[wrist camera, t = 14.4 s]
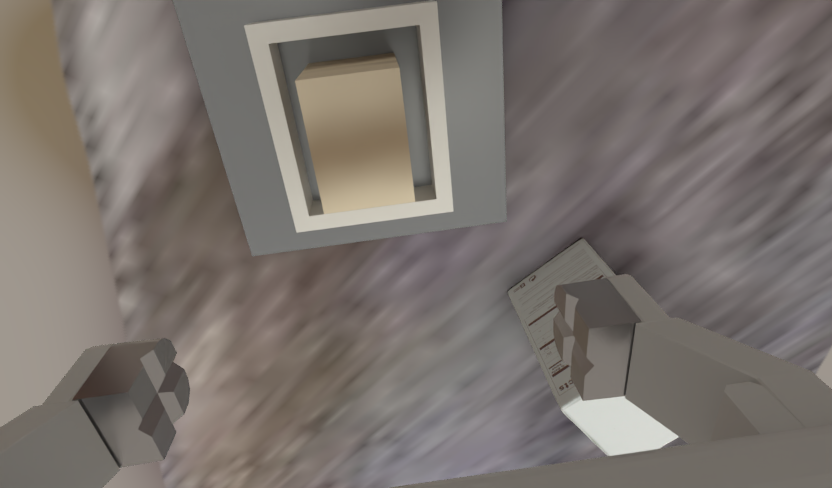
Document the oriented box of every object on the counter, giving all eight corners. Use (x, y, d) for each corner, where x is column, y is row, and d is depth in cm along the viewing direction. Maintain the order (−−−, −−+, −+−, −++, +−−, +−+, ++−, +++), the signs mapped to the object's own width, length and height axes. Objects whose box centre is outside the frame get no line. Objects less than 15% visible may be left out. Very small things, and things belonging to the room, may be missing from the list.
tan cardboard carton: (308, 63, 28) (294, 80, 23) (393, 52, 28) (399, 67, 23) (331, 176, 32) (324, 214, 26) (407, 166, 32) (415, 201, 26)
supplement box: (628, 293, 39) (729, 413, 28) (551, 343, 41) (619, 474, 30) (583, 233, 36) (677, 341, 25) (503, 289, 38) (558, 413, 27)
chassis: (173, -20, 27) (147, -21, 24) (496, -60, 27) (512, -65, 24) (255, 249, 35) (244, 274, 32) (503, 215, 35) (516, 237, 32)
